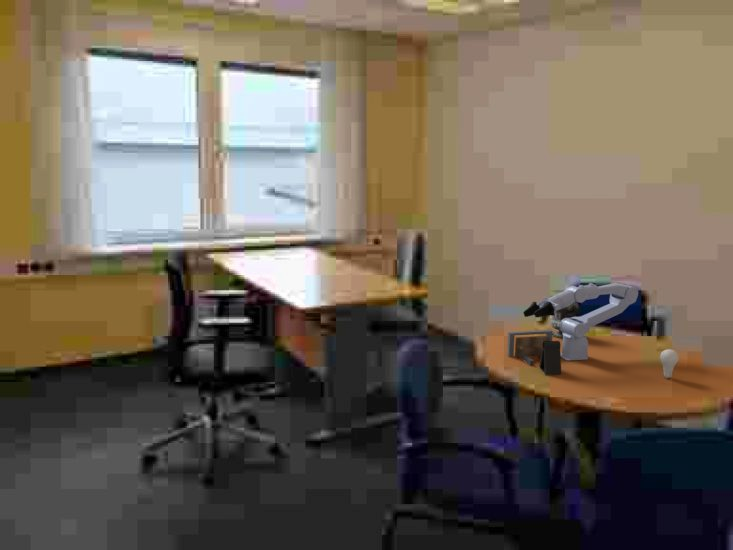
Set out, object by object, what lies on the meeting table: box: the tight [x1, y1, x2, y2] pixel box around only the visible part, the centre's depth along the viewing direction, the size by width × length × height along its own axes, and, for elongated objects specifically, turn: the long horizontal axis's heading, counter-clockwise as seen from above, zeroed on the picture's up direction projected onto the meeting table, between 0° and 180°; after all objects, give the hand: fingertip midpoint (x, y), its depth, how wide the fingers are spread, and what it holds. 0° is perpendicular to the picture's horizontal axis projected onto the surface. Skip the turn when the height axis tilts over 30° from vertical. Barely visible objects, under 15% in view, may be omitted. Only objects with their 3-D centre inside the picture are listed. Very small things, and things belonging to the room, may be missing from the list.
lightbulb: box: [659, 348, 679, 379], centre depth 231 cm, size 6×6×11 cm
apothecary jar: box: [549, 301, 580, 339], centre depth 283 cm, size 12×12×18 cm
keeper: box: [520, 352, 542, 366], centre depth 251 cm, size 10×9×2 cm
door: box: [514, 335, 549, 358], centre depth 255 cm, size 14×3×8 cm, turn 99°
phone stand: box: [538, 340, 562, 376], centre depth 239 cm, size 9×6×12 cm, turn 0°
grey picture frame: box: [506, 329, 554, 357], centre depth 258 cm, size 19×2×10 cm, turn 99°
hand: (529, 314), depth 244 cm, fingers open, 7 cm apart
